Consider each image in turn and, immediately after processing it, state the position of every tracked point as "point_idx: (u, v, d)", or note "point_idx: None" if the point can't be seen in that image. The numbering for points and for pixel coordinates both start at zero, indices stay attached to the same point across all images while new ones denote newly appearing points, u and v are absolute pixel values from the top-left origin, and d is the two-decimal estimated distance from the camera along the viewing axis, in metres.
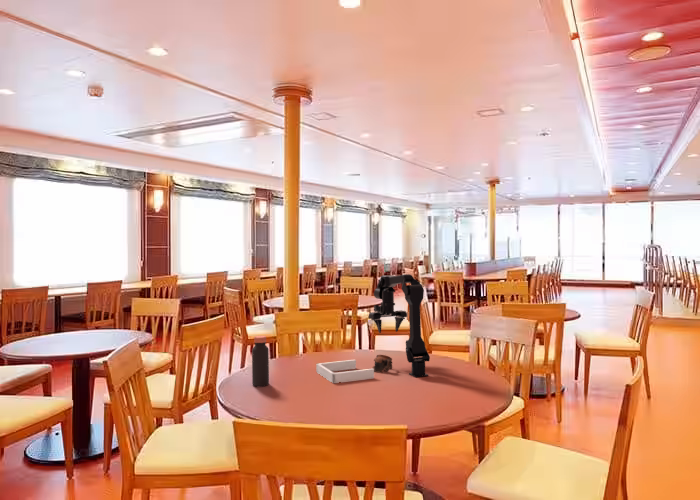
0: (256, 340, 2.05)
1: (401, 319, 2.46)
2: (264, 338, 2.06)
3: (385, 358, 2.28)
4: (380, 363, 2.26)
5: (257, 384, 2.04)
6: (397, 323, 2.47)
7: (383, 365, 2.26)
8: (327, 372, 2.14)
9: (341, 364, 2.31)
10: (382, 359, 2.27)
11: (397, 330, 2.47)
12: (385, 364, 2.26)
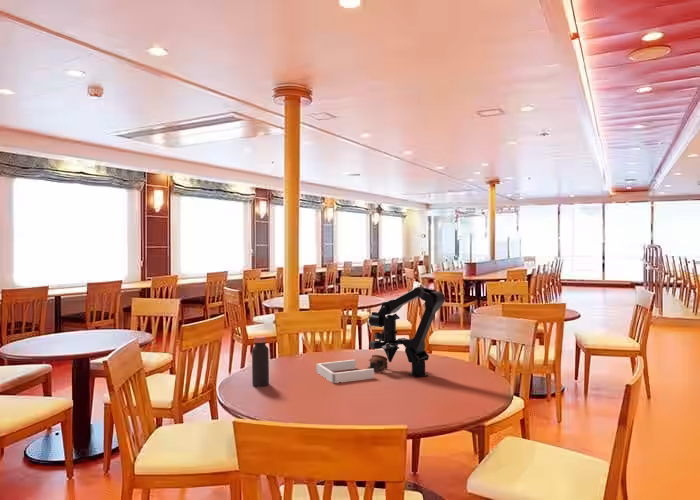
0: (256, 340, 2.05)
1: (395, 349, 2.29)
2: (264, 338, 2.06)
3: (380, 358, 2.28)
4: (376, 363, 2.26)
5: (257, 384, 2.04)
6: (391, 353, 2.30)
7: (379, 365, 2.25)
8: (327, 372, 2.14)
9: (341, 364, 2.31)
10: (377, 359, 2.27)
11: (391, 360, 2.30)
12: (381, 364, 2.26)
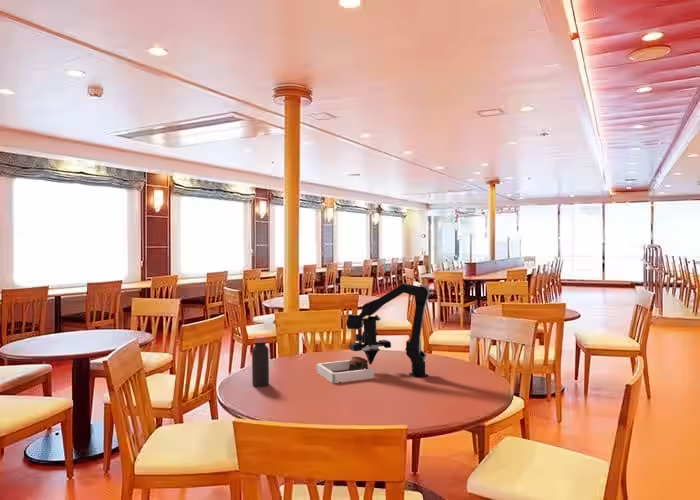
0: (256, 340, 2.05)
1: (375, 351, 2.25)
2: (264, 338, 2.06)
3: (360, 360, 2.24)
4: (354, 365, 2.23)
5: (257, 384, 2.04)
6: None
7: (357, 367, 2.22)
8: (327, 372, 2.14)
9: (341, 364, 2.31)
10: (356, 361, 2.23)
11: (371, 363, 2.26)
12: (359, 366, 2.22)
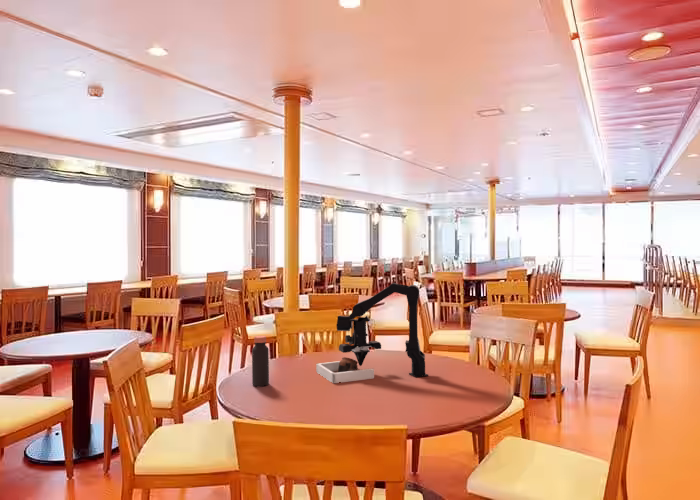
0: (256, 340, 2.05)
1: (365, 352, 2.22)
2: (264, 338, 2.06)
3: (349, 361, 2.22)
4: (343, 366, 2.21)
5: (257, 384, 2.04)
6: None
7: (346, 368, 2.20)
8: (327, 372, 2.14)
9: None
10: (346, 362, 2.22)
11: (361, 364, 2.24)
12: (348, 367, 2.21)
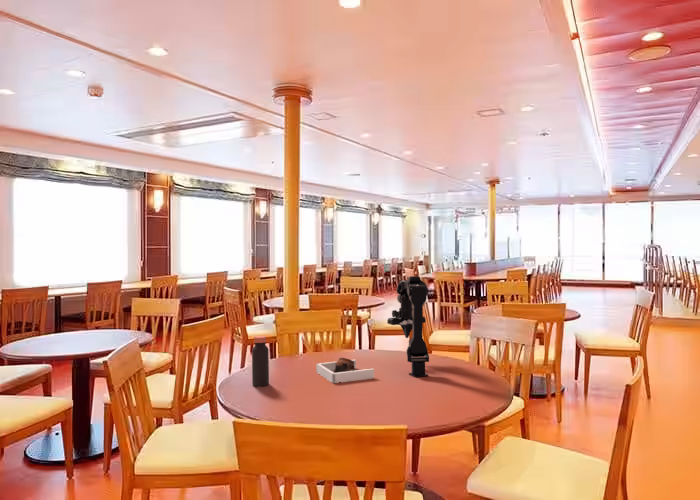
0: (256, 340, 2.05)
1: (412, 325, 2.43)
2: (264, 338, 2.06)
3: (346, 361, 2.22)
4: (340, 366, 2.21)
5: (257, 384, 2.04)
6: None
7: (343, 368, 2.20)
8: (327, 372, 2.14)
9: None
10: (343, 362, 2.22)
11: (408, 336, 2.45)
12: (345, 367, 2.20)
